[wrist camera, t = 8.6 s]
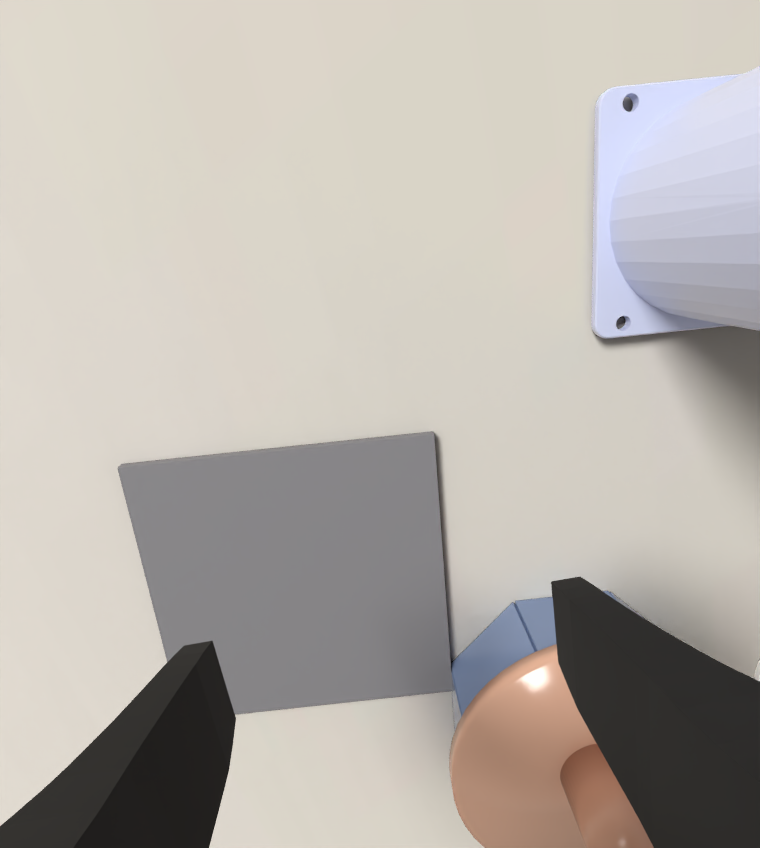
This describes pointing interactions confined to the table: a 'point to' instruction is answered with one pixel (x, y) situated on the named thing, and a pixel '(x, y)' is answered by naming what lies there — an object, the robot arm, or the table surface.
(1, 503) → the table surface
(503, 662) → the bowl
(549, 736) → the lid
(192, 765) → the robot arm
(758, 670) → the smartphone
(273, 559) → the mat
